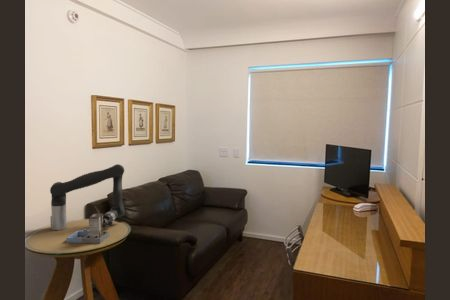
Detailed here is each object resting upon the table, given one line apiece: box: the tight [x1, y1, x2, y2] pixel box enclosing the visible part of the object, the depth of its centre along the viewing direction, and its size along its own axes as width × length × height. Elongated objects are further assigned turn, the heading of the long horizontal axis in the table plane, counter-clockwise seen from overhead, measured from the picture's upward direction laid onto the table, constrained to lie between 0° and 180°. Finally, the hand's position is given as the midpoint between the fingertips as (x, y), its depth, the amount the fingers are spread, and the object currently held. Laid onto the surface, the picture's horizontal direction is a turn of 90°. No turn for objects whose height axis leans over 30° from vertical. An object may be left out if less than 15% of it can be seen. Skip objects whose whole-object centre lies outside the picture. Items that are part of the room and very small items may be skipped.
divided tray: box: [66, 229, 110, 244], centre depth 198 cm, size 22×13×4 cm, turn 86°
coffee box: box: [88, 213, 105, 238], centre depth 198 cm, size 9×6×16 cm
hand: (96, 225), depth 198 cm, fingers open, 8 cm apart
